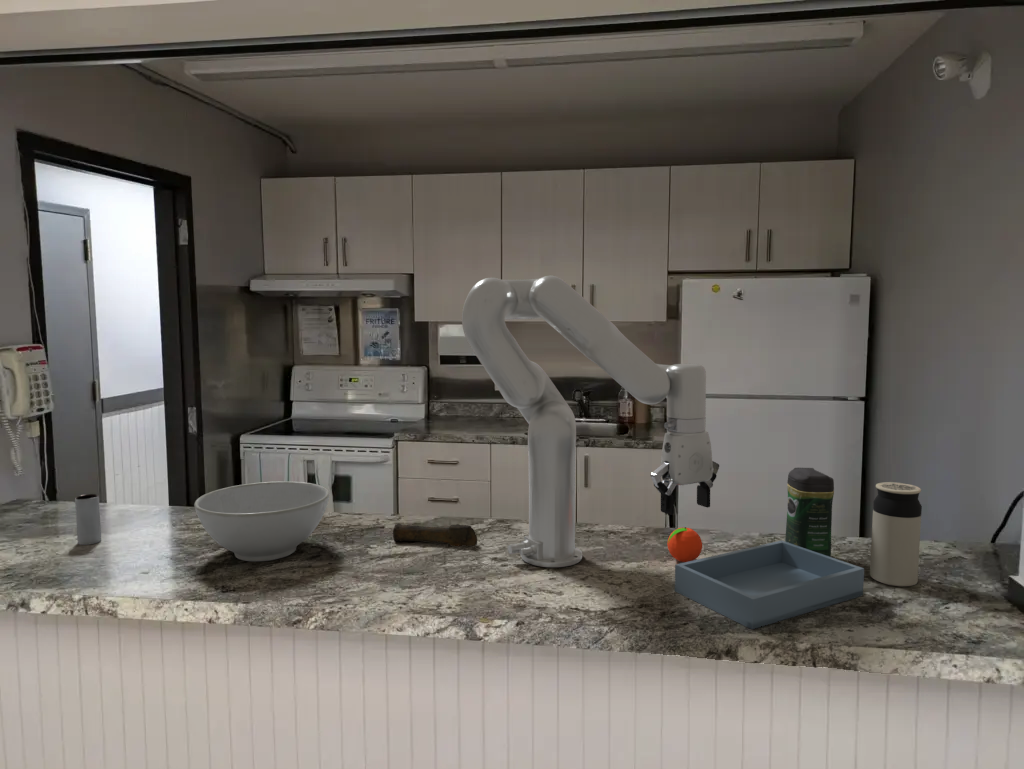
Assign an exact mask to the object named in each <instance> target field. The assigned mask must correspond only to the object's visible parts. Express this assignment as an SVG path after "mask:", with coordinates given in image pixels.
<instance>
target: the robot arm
mask: <svg viewBox="0 0 1024 769" xmlns="http://www.w3.org/2000/svg"><path fill="white" fill-rule="evenodd" d="M529 319H531V320H532V319H542V320H543V321H545V323H547V324H548V325H549V326H550V327H551V328H553V329H554V330H555V331H556V332H558V334H560V336H562V337H563V338H564V339H565V340H566V341H567V342H568V343H570V344H571V345H573V347H574V348H576V350H578V351H579V352H580V353H581V354H582V355H584V357H585V358H587V359H588V360H590V361H591V362H593V363H594V364H596V365H597V366H598V367H599V368H600V369H602V370H603V371H604V372H605V373H606V374H607V375H608V376H609V377H611V378H612V379H613V380H614V381H615V382H616V383H618V384H619V386H621V387H622V389H625V391H626V392H628V393H629V394H630V395H631V396H632V397H633V398H635V399H636V400H637V401H638V402H640V403H642V404H645V405H657V404H659V403H661V402H662V401H664V400H665V399H666V422H664V424H663V427H664V429H666V432H665V433H664V436H663V443H662V450H661V459H660V460H661V462H660V466H658V467H657V468H656V469H654V470H653V471H652V472H651V473H650V479H651V480H652V483H653V486H654V488H656V490H657V492H658V493H660V512H662V513H664V514H666V515H669V516H671V515H674V513H675V496H674V494H672V493H673V492H674V490H675V488H676V486H685V485H692V484H697V483H698V484H699V485H696V486H697V487H696V505H698V506H701V507H703V508H707V509H708V508H710V507H711V488H713V487H714V484H713V483H714V482H715V480H716V479H717V474H718V473H719V469H720V464H719V463H717V462H715V461H714V460H713V454H712V453H713V451H712V444H711V443H712V442H711V438H710V433H709V431H707V430H706V415H707V414H706V411H707V410H706V409H707V407H706V405H707V403H706V402H707V401H706V399H707V398H706V397H707V393H706V392H707V390H706V389H707V372H706V369H705V367H704V366H703V364H702V365H701V364H699V363H674V364H672V365H670V364H661V363H655V361H653V360H652V359H651V358H650V357H649V356H647V354H645V353H644V352H643V351H642V350H641V349H639V348H638V346H636V345H635V344H634V343H633V342H632V341H631V340H629V339H628V338H627V337H626V336H625V334H623V333H622V332H621V331H620V330H619V328H618V327H617V326H616V325H615V324H614V323H613V322H612V321H611V320H610V319H609V318H608V317H607V316H605V315H604V314H603V313H601V311H599V310H598V309H597V308H596V307H595V306H593V305H592V304H591V303H590V302H589V301H588V300H587V299H585V297H583V295H581V294H580V293H579V292H578V291H576V290H575V289H574V288H573V287H572V286H571V285H570V284H569V283H567V282H566V281H565V280H563V278H561V277H559V276H556V275H551V274H550V275H545V276H542V277H540V278H531V279H530V278H529V279H501V278H497V277H486V278H482V279H481V280H479V281H478V282H476V283H475V284H474V285H473V286H472V288H471V289H470V290H469V292H468V293H467V296H466V299H465V300H464V303H463V307H462V312H461V324H462V325H461V326H462V331H463V334H464V336H465V339H466V341H467V343H468V345H469V347H470V349H471V350H472V352H473V353H474V355H475V356H476V358H477V359H478V361H479V363H480V365H482V366H483V368H484V370H485V372H486V373H487V374H488V377H489V378H490V379H491V381H492V382H493V383H494V385H495V386H496V388H497V390H498V391H499V393H500V394H501V396H502V397H503V400H505V402H506V403H507V404H508V405H510V406H512V407H514V408H517V410H518V411H519V413H520V414H521V415H522V417H523V418H524V419H525V421H526V422H527V424H528V429H527V453H528V457H527V458H528V535H525V536H523V537H524V538H523V540H521V541H520V542H519V543H510V544H508V545H507V553H508V554H509V555H513V554H518V553H519V555H520V557H521V558H522V560H523V562H525V563H527V564H530V565H533V566H536V567H542V568H566V567H570V566H573V565H576V564H578V563H579V562H581V561H582V560H583V552H582V550H581V549H580V548H579V547H576V546H575V545H576V544H575V543H576V540H575V539H576V538H575V537H576V536H575V535H576V534H575V533H576V450H577V449H576V447H577V445H576V444H577V423H576V416H575V415H574V412H573V410H572V409H571V407H570V405H569V404H568V402H567V401H566V400H565V399H564V396H563V395H562V394H561V392H560V391H559V390H558V388H557V387H556V385H555V384H554V382H553V381H552V379H551V378H550V377H549V375H548V374H547V373H546V371H545V370H544V369H543V368H542V366H541V365H539V364H538V363H537V362H535V361H532V360H530V359H529V358H528V356H527V354H526V353H525V352H524V351H523V349H522V348H521V346H520V345H519V343H518V341H517V339H515V337H514V335H513V334H512V333H511V331H510V330H509V328H508V327H507V324H506V320H529Z"/></svg>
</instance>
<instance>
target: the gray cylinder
mask: <svg viewBox="0 0 1024 769" xmlns="http://www.w3.org/2000/svg"><path fill="white" fill-rule="evenodd" d="M74 504H75V505H74V506H75V518H76V519H75V520H76V523H75V524H76V535H77V536H76V537H77V544H78V545H81V546H86V545H95V544H97V543H101V541H102V529H101V528H102V525H101V510H100V495H99V494H97V493H90V494H89V493H87V494H80V495H77V496H76V497H75V498H74Z"/></svg>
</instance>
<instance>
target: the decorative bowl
mask: <svg viewBox="0 0 1024 769" xmlns="http://www.w3.org/2000/svg"><path fill="white" fill-rule="evenodd" d="M329 499H330V491H329V489H328V488H326V487H324V486H323V485H319V484H316V483H311V482H306V481H305V482H304V481H290V480H289V481H288V480H286V481H284V480H282V481H265V482H264V481H262V482H252V483H245V484H244V483H243V484H239V485H237V484H236V485H232V486H228V487H227V486H226V487H224V488H219V489H216V490H213V491H210V492H207V493H205V494H203V495H201V496H200V497H198V498H196V500H195V501H194V504H193V506H194V510H195V512H196V515H197V518H198V520H199V522H200V524H201V525H202V527H203V529H204V530H205V531H206V533H207V534H208V535H209V536H210V537H211V539H212V540H213V541H215V542H216V543H217V544H218V545H219V546H221V547H222V548H224V549H226V550H228V551H230V552H232V553H234V557H235V558H237V559H238V560H240V561H245V562H268V561H274V560H278V559H283V558H285V557H289V556H290V555H291V554H293V553H295V551H296V550H297V546H298V545H300V544H302V542H304V541H305V540H307V538H309V536H310V535H311V534H313V532H314V531H315V529H317V527H318V525H319V524H320V522H321V520H322V518H323V516H324V514H325V512H326V509H327V507H328V504H329Z"/></svg>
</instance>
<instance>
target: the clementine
mask: <svg viewBox="0 0 1024 769" xmlns="http://www.w3.org/2000/svg"><path fill="white" fill-rule="evenodd" d="M666 542H667V545H666V546H667V549H668V551H669V552H668V553H669V554H670V555H671V556H672V557H673V559H675V560H676V561H679V562H680V563H684V562H689V561H693V560H697V558H699V556H700V555H701V553H702V549H703V541H702V539H701V537H700V534H698V532H697V531H695V530H694V529H692V528H689V527H685V526H683V527H678V528H677V529H674V530H672V532H671V533H670V535H669V536H668V538H667V541H666Z"/></svg>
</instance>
